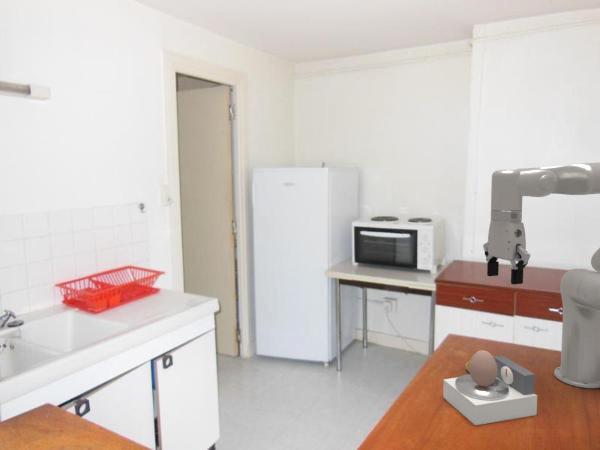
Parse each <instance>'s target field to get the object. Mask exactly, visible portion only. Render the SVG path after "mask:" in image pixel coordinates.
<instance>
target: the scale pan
mask: <svg viewBox="0 0 600 450" xmlns="http://www.w3.org/2000/svg"><path fill="white" fill-rule="evenodd" d="M456 378H457V377H456ZM455 387H456V389H457V390H458V391H459V392H461V393H462V394H464V395H466V396H468V397H471V398H475V399H479V400H487V401H494V400H501V399H504V398H506V397H507V396H508V394H509V388H508V386H507V385H506V384H505V383H504V382H502V381H501V380H499V379H496V380H495V381H494V382H493V383H492V384H491V385H489V386H485V387H483V386H480V385H478V384H476V383H475V382H474V381H473V379H472V378H471V375H470V373H468V374H463V375H461V376H458V378H457V379H456V381H455Z"/></svg>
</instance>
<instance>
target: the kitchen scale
mask: <svg viewBox="0 0 600 450" xmlns="http://www.w3.org/2000/svg"><path fill="white" fill-rule="evenodd" d="M493 358H494V359H495V362H496V364H497V371H498V372H497V378H496V379H499V380H501V381H502V382H504V383H505V384H506V385H507V386H508V388H509V394H508V396H507V397H506V398H504V399H501V400H494V401H487V400H479V399H475V398H471V397H468V396H466V395H464V394H462V393H461V392H459V391H458V390H457V389H456V387H455V381H456V379H457V378H458V377H459V376H458V377H450V378H444V379H443V386H442V387H443V392H442V394H443V396H442V397H443V399H444V400H446V401H447V402H448V403H449V404H451V406H453V408H455V409H456V410H457V411H458V412H459V413H461V415H463V416H464V417H465V418H466V419H467V420H469V422H470V423H472V424H473V425H474V426H481V425H485V424H491V423H497V422H502V421H503V422H504V421H509V420H510V421H511V420H514V419H521V418H526V417H527V418H529V417H533V416H537V415H538V414H537V413H538V411H537V410H538V395H537V394H535V384H536V380H535V379H536V374H535V373H533V372H532V371H531V370H528V369H527V368H526V367H523V366H522V365H520V364H518V363H516V362H515V361H513V360H511V359H510V358H509V357H506V356H505V355H496V356H494V355H493Z"/></svg>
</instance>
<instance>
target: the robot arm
mask: <svg viewBox="0 0 600 450" xmlns="http://www.w3.org/2000/svg"><path fill="white" fill-rule="evenodd" d="M490 190H491V192H490V193H491V194H490V223H489V229H488V235H487V242H486V243H483V245H482V248H483V250H484V256H485V257H486V258H485V260H486V263H487V269H486V271H487V272H486V275H487V276H488V277H497V276H499V262H500V261H498V260H499V259H500V260H504V261H509V263H510V264H511V266H512V268H511V271H510V272H511V273H510V284H511V285H513V286H514V285H523V283H524V270H525V269H526V266H527V265H528V262H529V261H530V258H531V254H530V253H529V251H528V250H527V238H526V231H525V224H524V222H523V221H522V220H523V216H522V215H523V197H531V198H544V197H547V196H550V195H551V194H552V195H553V194H555V195H557V194H558V195H566V196H586V195H597V194H598V195H600V162H587V163H586V162H585V163H582V162H581V163H571V164H564V165H556V166H545V167H544V166H543V167H542V166H541V167H529V168H528V167H527V168H526V167H524V168H516V169H498V170H494V171H493V172H492V174H491V189H490ZM590 265H591V267H592V269H593V270H594V271H593V270H590V269H586V268H572V269H570V270H567V271H566V272H565V273H564V274H562V275H563V276H562V277H561V280H560V284H559V289H560V290H559V291H560V296H561V302H562V326H561V328H562V329H561V332H562V333H561V352H560V353H561V354H560V366H557V367H556V368H555V369H554V373H553V374H554V377H556V378H557V379H558V380H559V381H560V382H563V383H564V384H567V385H570V386H573V387H577V388H582V389H583V388H584V389H599V388H600V247H599V248H598V249H596V251H595V252H594V253H593V254H592V256H591V259H590Z"/></svg>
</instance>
